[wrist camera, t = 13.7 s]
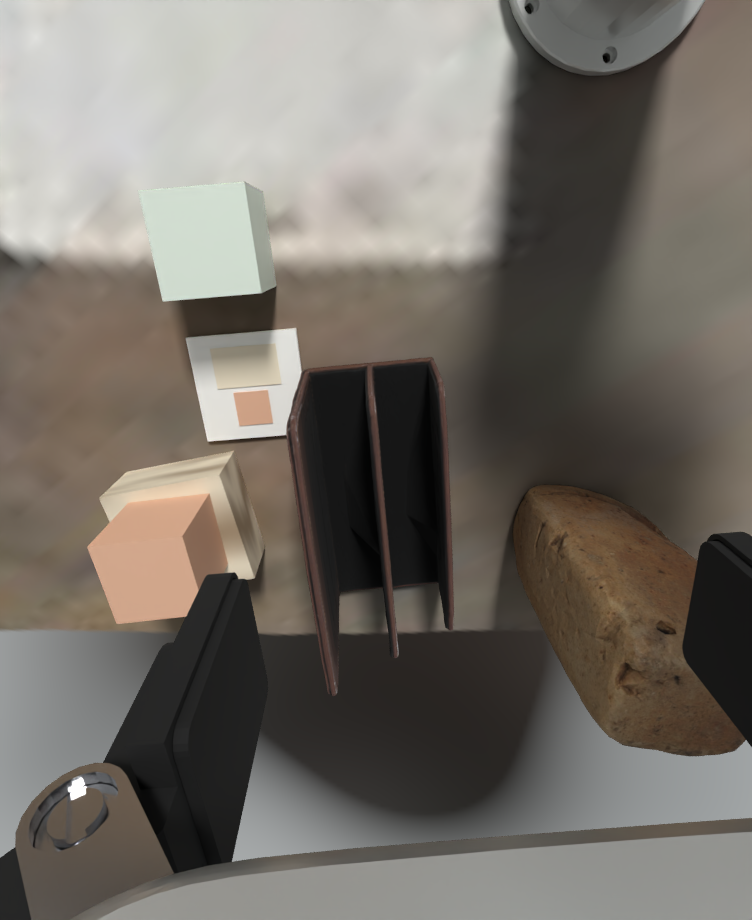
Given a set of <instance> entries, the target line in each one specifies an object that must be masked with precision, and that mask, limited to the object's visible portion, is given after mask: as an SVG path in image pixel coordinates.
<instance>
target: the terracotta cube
mask: <svg viewBox="0 0 752 920" xmlns="http://www.w3.org/2000/svg"><path fill="white" fill-rule="evenodd" d="M88 550H89V553H90V555H91V558H92V560H93V563H94V566H95V568H96V571H97V573H98V576H99V579H100V581H101V584H102V586H103V589H104V592H105V594H106V597H107V599H108V602H109V605H110V607H111V610H112V612H113V615H114V618H115V620H116V623H117V624H122V623H131V622H140V621H150V620H159V619H168V618H177V617H186V616H187V614H188V612H189V610H190V608H191V606H192V603H193V601H194V599H195V597H196V595H197V593H198V591H199V589H200V587H201V585H202V582H203V580H204V578H205V577H206V575H208V574H219V573H224V571H225V569H226V567H227V564H228V561H227V557H226V554H225V550H224V546H223V543H222V539H221V535H220V531H219V528H218V524H217V520H216V517H215V513H214V509H213V505H212V502H211V498H210V494H209V493H208V494H199V495H191V496H182V497H173V498H165V499H156V500H147V501H138V502H130V503H127V504H126V506H125V507H124V508H123V509H122V510H121V511H120V512H119V513H118V514H117V515H116V516H115V517H114V519H113V520H112V521H111V522H110V523H109V524H108V525H107V526H106V527H105V528H104V529H103V530H102V532H101V533H100V534H99V535H98V536H97V537H96V538H95V539H94V540H93V541H92V542H91V544H90V545H89V546H88Z"/></svg>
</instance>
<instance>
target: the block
mask: <svg viewBox="0 0 752 920" xmlns="http://www.w3.org/2000/svg"><path fill="white" fill-rule="evenodd" d="M513 541H514V549H515V554H516V565H517V570H518V574H519V576H520V578H521V580H522V583H523V586H524V589H525V592H526V594H527V596H528V598H529V600H530V602H531V604H532V606H533V608H534V610H535V612H536V614H537V616H538V618H539V621H540V623H541V625H542V627H543V629H544V631H545V633H546V635H547V637H548V639H549V641H550V643H551V645H552V647H553V649H554V651H555V653H556V655H557V656H558V658H559V660H560V662H561V664H562V666H563V668H564V670H565V672H566V674H567V676H568V677H569V679H570V681H571V682H572V684H573V686H574V687H575V689H576V691H577V693H578V694H579V696H580V698H581V700H582V702H583V704H584V705H585V707H586V709H587V710H588V712H589V713H590V715H591V716H592V717H593V719H594V720H595V721H596V722H597V723H598V725H599V726H600V727H601V729H602V730H603V731H604V732H605V733H606V734H607V735H608V736H609V737H610V738H612V739H614V740H616V741H617V742H619V743H621V744H622V745H625V746H631V747H638V748H644V749H654V750H659V751H663V752H667V753H671V754H677V755H685V756H704V755H718V754H723V753H727V752H732V751H735V750H736V749H737V748H738V747H739V746H740V745H742V744H743V742H744V741H745V740H746V739H745V738H744V736H743V735H742V734H741V732H740V731H739V730H738V729H737V727H736V726H735V725H734V723H733V722H732V721H731V720H730V718H729V717H728V716H727V714H726V713H725V712H724V710H723V709H722V708H721V707H720V705H719V704H718V703H717V701H716V700H715V699H714V698H713V696H712V695H711V694H710V692H709V691H708V690H707V689H706V687H705V686H704V685H703V683H702V682H701V681H700V679H699V678H698V677H697V676H696V674H695V673H694V672H693V670H692V669H691V668H690V667H689V665H688V664H687V662H686V660H685V658H684V655H683V650H682V644H683V638H684V633H685V627H686V622H687V616H688V611H689V605H690V600H691V594H692V589H693V583H694V578H695V572H696V567H697V560H695V559H694V558H693V557H691V556H690V555H689V554H688V553H687V552H686V551H684V550H683V549H681V548H680V547H678V546H677V545H675V544H674V543H672V542H670V541H669V539H668V538H666V537H665V536H664V534H663V533H662V532H661V531H660V530H659V529H658V527H657V526H656V525H654V524H653V523H652V522H651V521H649V520H648V519H647V518H646V517H645V516H644V515H642V514H641V513H640V512H638V511H637V510H635V509H634V508H632V507H631V506H628V505H625V504H623V503H621V502H619V501H617V500H615V499H612V498H610V497H608V496H605V495H602V494H599V493H596V492H593V491H589V490H585V489H581V488H577V487H571V486H562V485H539V486H535V487H533V488H531V489H530V490H528V492H527V493H526V495H525V496H524V499H523V501H522V502H521V504H520V506H519V509H518V512H517V515H516V518H515V522H514V529H513Z"/></svg>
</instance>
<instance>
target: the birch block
mask: <svg viewBox="0 0 752 920" xmlns="http://www.w3.org/2000/svg"><path fill="white" fill-rule="evenodd" d="M208 493H209V494H210V498H211V502H212V505H213V509H214V513H215V517H216V520H217V524H218V528H219V531H220V535H221V539H222V543H223V546H224V550H225V554H226V557H227V561H228V564H227V567H226V569H225V571H224V573H232V572H235V573H236V574H237V576H238V579H246V580H248V579H254V578H255V576H256V573H257V570H258V567H259V564H260V561H261V558H262V554H263V551H264V548H265V544H264V541H263V538H262V535H261V532H260V529H259V526H258V523H257V519H256V516H255V513H254V510H253V507H252V504H251V501H250V498H249V495H248V492H247V489H246V486H245V483H244V480H243V476H242V473H241V470H240V467H239V464H238V461H237V458H236V455H235V452H234V451H231V452H226V453H221V454H216V455H211V456H206V457H201V458H195V459H190V460H185V461H180V462H175V463H170V464H165V465H160V466H155V467H150V468H144V469H139V470H134V471H129V472H126V473H125V474H124V475H123V476H122V477H121V478H120V479H119V480H118V481H117V482H115V483H114V484H113V485H112V486H111V487H110V488H109V489H108V490H107V491H106V492H105V493H104V494H103V495H102V496H101V497H100V498H99V499H100V501H101V504H102V506H103V508H104V510H105V512H106V515H107V517H108V519H109V521H110V522H111V521H112V520H113V519H114V517H115V516H116V515H117V514H118V513H119V512H120V511H121V510H122V509H123V508H124V507H125V506H126V504H127V503H130V502H138V501H147V500H156V499H165V498H173V497H182V496H191V495H199V494H208Z"/></svg>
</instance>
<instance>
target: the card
mask: <svg viewBox="0 0 752 920" xmlns="http://www.w3.org/2000/svg"><path fill="white" fill-rule="evenodd" d="M186 342H187V347H188V352H189V356H190V361H191V365H192V370H193V375H194V379H195V384H196V389H197V393H198V398H199V403H200V407H201V412H202V417H203V421H204V426H205V431H206V435H207V440H208V441H220V440H232V439H245V438H257V437H269V436H281V435H286V427H287V421H288V418H289V415H290V412H291V407H292V401H293V397H294V394H295V391H296V389H297V386H298V383H299V380H300V376H301V373H302V367H301V359H300V352H299V344H298V337H297V329H296V328H291V329H279V330H267V331H255V332H243V333H232V334H220V335H208V336H196V337H187V338H186Z"/></svg>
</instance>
